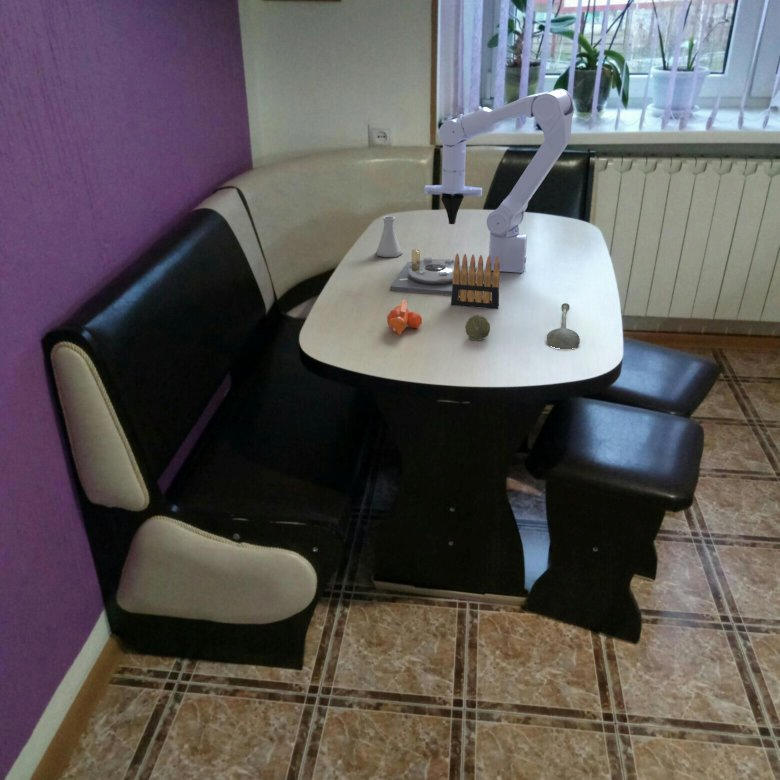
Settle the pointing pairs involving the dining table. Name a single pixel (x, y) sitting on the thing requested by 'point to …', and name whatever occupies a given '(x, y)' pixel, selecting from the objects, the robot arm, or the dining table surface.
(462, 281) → the ammunition clip
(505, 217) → the robot arm
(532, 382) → the dining table surface
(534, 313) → the dining table surface
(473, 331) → the lime
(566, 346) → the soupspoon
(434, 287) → the cap plate
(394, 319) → the orange toy bird
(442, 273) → the crank wheel with handle
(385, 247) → the flask
